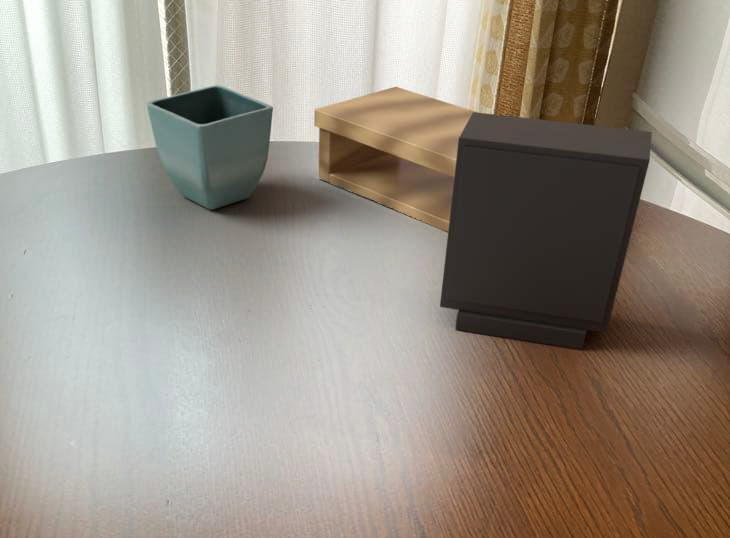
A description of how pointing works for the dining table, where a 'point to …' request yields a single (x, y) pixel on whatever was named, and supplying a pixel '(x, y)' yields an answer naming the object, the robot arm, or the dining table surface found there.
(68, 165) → the dining table surface
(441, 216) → the stand
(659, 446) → the dining table surface
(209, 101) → the flower pot
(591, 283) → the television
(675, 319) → the dining table surface
